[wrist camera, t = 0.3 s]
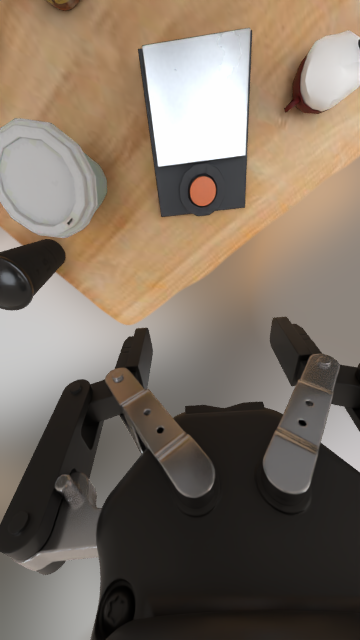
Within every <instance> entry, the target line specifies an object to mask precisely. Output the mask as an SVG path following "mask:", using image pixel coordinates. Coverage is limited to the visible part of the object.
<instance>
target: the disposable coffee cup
mask: <svg viewBox="0 0 360 640" xmlns="http://www.w3.org/2000/svg"><path fill="white" fill-rule="evenodd" d="M106 194H107V179H106V177H105V175H104V173H103V171H102V169H101V167H100V165H98V164H97V163H96V162H95V161H93V160H92V159H91V158H90V157H88V156H87V155H86V154H85V153H84V152H83V151H82V149H81V147H80V146H79V145H78V144H77V143H76V142H75V141H73V140H72V139H71V138H70V137H68V136H67V135H66V134H65V133H63V132H62V131H61V130H60V129H58V128H57V127H56V126H55V125H53V124H52V123H49V122H42V121H35V120H29V119H22V118H20V119H17V118H15V119H13V120H12V121H10V122H9V123H7V124H6V125H4V126H3V127H1V128H0V202H1V204H2V205H3V207H4V208H5V209H6V211H7V212H8V214H9V215H10V216H11V218H12V219H14V220H15V221H17V222H18V223H20V224H21V225H23V226H24V227H26V228H27V229H29V230H30V231H32V232H33V233H36V234H38V235H42V236H51V237H59V238H65V237H66V238H67V237H69V236H71V235H73V234H75V233H77V232H79V231H81V230H83V229H84V228H85V227H86V226H87V225H88V224H89V222H90V220H91V218H92V216H93V214H94V212H95V211H96V210H97V209H98V207H99V206H100V205H101V204H102V202H103V200H104V198H105V196H106Z"/></svg>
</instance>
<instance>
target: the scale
mask: <svg viewBox="0 0 360 640" xmlns="http://www.w3.org/2000/svg"><path fill="white" fill-rule="evenodd" d="M251 46H252V30H250V53H249V79H248V104H247V130H246V155H245V156H239V157H231V158H224V159H216V160H208V161H201V162H193V163H186V164H178V165H170V166H163V167H158V162H157V155H156V147H155V140H154V132H153V125H152V117H151V110H150V102H149V95H148V87H147V79H146V72H145V64H144V57H143V49H142V48H141V49H138V52H139V60H140V67H141V74H142V81H143V88H144V95H145V103H146V110H147V117H148V124H149V131H150V138H151V146H152V153H153V160H154V167H155V174H156V181H157V188H158V196H159V203H160V210H161V217H167V216H175V215H184V214H194V215H196V216H205V215H210V214H211V213H213V212H214V211H218V210H227V209H236V208H244V207H245V190H246V166H247V142H248V118H249V94H250V70H251ZM201 176H206V177H209V178H210V179H212V181H213V182H214V184H215V186H216V194H215V197H214V199H213V201H212V202H211V203H210V204H208V205H206V206H199V205H197V204H195V203H194V202H193V201H192V199H191V196H190V186H191V184H192V182H193V181H194V180H195V179H196V178H198V177H201Z"/></svg>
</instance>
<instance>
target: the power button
mask: <svg viewBox="0 0 360 640" xmlns="http://www.w3.org/2000/svg"><path fill="white" fill-rule="evenodd" d="M215 194H216V186H215V184H214V182H213V181H212V179H210V178H209V177H206V176H201V177H198V178H196V179H195V180H194V181H193V182H192V184H191V186H190V196H191V199H192V201H193V202H194V203H195V204H197V205H199V206H206V205H208V204H210V203H211V202H212V201H213V199H214V197H215Z"/></svg>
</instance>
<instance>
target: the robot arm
mask: <svg viewBox="0 0 360 640" xmlns="http://www.w3.org/2000/svg"><path fill="white" fill-rule="evenodd" d="M270 343H271V347H272V349H273V351H274V353H275V355H276V357H277V359H278V361H279V363H280V365H281V367H282V369H283V371H284V372H285V374H286V376H287V378H288V380H289V382H290V384H291V386H295V389H294V391H293V393H292V395H291V398H290V400H289V403H288V405H287V407H286V409H285V412H284V414H281V413H279V412H277V411H274V410H271V409H268V408H265V407H264V404H263V402H248V403H241V404H237V405H234V406H231V407H227V408H219V407H213V406H207V405H196V406H185V412H184V413H181V414H179V415H177V416H175V417H174V418H172V417H171V415H170V414H169V413H168V412H167V410H166V409H165V408H164V407H163V406H162V405H161V403H160V402H159V401H158V400H157V398H156V397H155V396H154V395H153V394H152V392H151V391H150V390H149V389H147V386H148V379H149V373H150V367H151V361H152V355H153V349H152V343H151V339H150V334H149V330H148V328H138V329H136V330H135V334H134V336H132V337H128V338H127V339H126V340H125V342H124V344H123V346H122V349H121V353H120V355H119V358H118V361H117V364H116V367H115V369H114V370H112V371H110V372H109V373H108V374H107V376H106V378H105V379H104V380H103V381H99V382H96V383H93V384H90V383H89V382H88V381H87V380H83V379H82V380H77V381H74V382H72V383H70V384H69V385H68V386H67V387H66V388H65V389H64V391H63V393H62V395H61V397H60V399H59V401H58V403H57V405H56V408H55V410H54V412H53V414H52V416H51V418H50V420H49V423H48V425H47V427H46V429H45V431H44V433H43V435H42V437H41V439H40V441H39V444H38V446H37V448H36V450H35V452H34V454H33V456H32V458H31V460H30V463H29V465H28V467H27V469H26V471H25V473H24V475H23V477H22V480H21V482H20V484H19V486H18V488H17V490H16V492H15V494H14V496H13V499H12V501H11V503H10V505H9V507H8V509H7V511H6V513H5V515H4V518H3V520H2V522H1V524H0V552H2V553H4V554H6V555H7V556H9V557H11V559H12V560H13V561H15V562H17V563H19V564H20V565H22V566H25V567H26V568H28V569H30V570H33V571H37V572H39V573H41V574H43V575H48V574H51V573H53V572H55V571H56V570H58V569H59V568H60V567H61V566H62V565H63V564H64V563H65V561H66V560H75V559H84V558H94V557H99V562H100V575H101V583H100V584H101V585H100V598H99V605H98V610H97V615H96V619H95V623H94V627H93V631H92V636H91V640H360V472H358V471H357V470H356V469H354V468H353V467H352V466H351V465H349V464H348V463H347V462H345V461H344V460H343V459H341V458H340V457H339V456H337V455H336V454H335V453H334V452H332V451H331V450H330V449H328V448H327V447H326V446H324V445H323V444H322V443H321V439H322V435H323V432H324V428H325V424H326V420H327V417H328V413H329V409H330V406H331V404H334V405H339V406H344V407H345V408H346V410H347V412H348V413H349V415H350V417H351V418H352V420H353V421H354V423H355V425H356V426H357V428H358V430H359V431H360V364H359V365H358V367H350V366H344V365H340V364H339V363H338V362H337V360H335V359H334V358H333V357H331V356H328V355H325V354H322V353H321V352H320V350H319V349H318V347H317V346H316V345H315V343H314V342H313V341H312V340H311V339H310V337H309V336H308V335H307V333H306V332H305V331H304V329H303V328H301V327H300V326H298V325H297V324H291V322H290V321H289V319H288V318H287V317H277V318H273V320H272V326H271V333H270ZM117 415H119V416H120V418H121V419H122V421H123V423H124V424H125V426H126V428H127V429H128V431H129V433H130V434H131V436H132V438H133V440H134V442H135V444H136V446H137V448H138V450H139V451H140V453H141V456H140V457H139V459H138V460H137V461H136V462H135V463H134V465H133V466H132V467H131V468H130V470H129V471H128V472H127V473H126V475H125V476H124V477H123V479H122V480H121V481H120V482H119V483H118V485H117V486H116V487H115V488H114V490H113V491H112V492H111V493H110V495H109V496H108V497H107V499H106V501H105V503H104V505H103V507H102V508H97V507H96V499H97V493H96V489H95V488H94V486H93V485H92V483H91V482H90V480H89V478H90V474H91V470H92V466H93V462H94V458H95V454H96V450H97V446H98V442H99V438H100V434H101V430H102V426H103V422H104V420H106V419H108V418H112V417H114V416H117Z"/></svg>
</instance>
